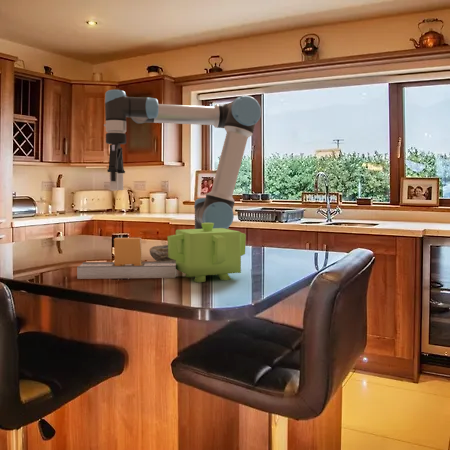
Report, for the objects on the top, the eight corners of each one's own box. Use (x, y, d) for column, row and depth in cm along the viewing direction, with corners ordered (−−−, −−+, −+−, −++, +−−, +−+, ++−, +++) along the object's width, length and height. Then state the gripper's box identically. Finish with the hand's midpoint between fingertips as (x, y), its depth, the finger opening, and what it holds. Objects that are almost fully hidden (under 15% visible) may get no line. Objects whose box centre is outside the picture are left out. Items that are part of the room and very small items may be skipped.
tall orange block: (141, 274, 154) (141, 237, 153) (140, 276, 151) (140, 238, 150) (116, 275, 153) (115, 237, 152) (114, 276, 150) (114, 238, 149)
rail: (176, 273, 157) (176, 261, 157) (175, 277, 149) (175, 265, 149) (83, 274, 155) (82, 262, 155) (77, 278, 147) (77, 266, 147)
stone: (159, 257, 169) (153, 234, 175) (149, 273, 176) (144, 251, 182) (193, 258, 176) (186, 236, 182) (182, 273, 183) (177, 252, 188)
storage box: (180, 288, 134) (180, 226, 133) (158, 274, 155) (158, 221, 154) (260, 281, 144) (260, 224, 143) (229, 269, 165) (229, 219, 164)
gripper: (111, 136, 190) (112, 190, 192) (99, 129, 166) (100, 190, 167) (130, 136, 191) (131, 190, 193) (121, 129, 166) (122, 190, 168)
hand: (116, 190), depth 180 cm, fingers open, 13 cm apart
